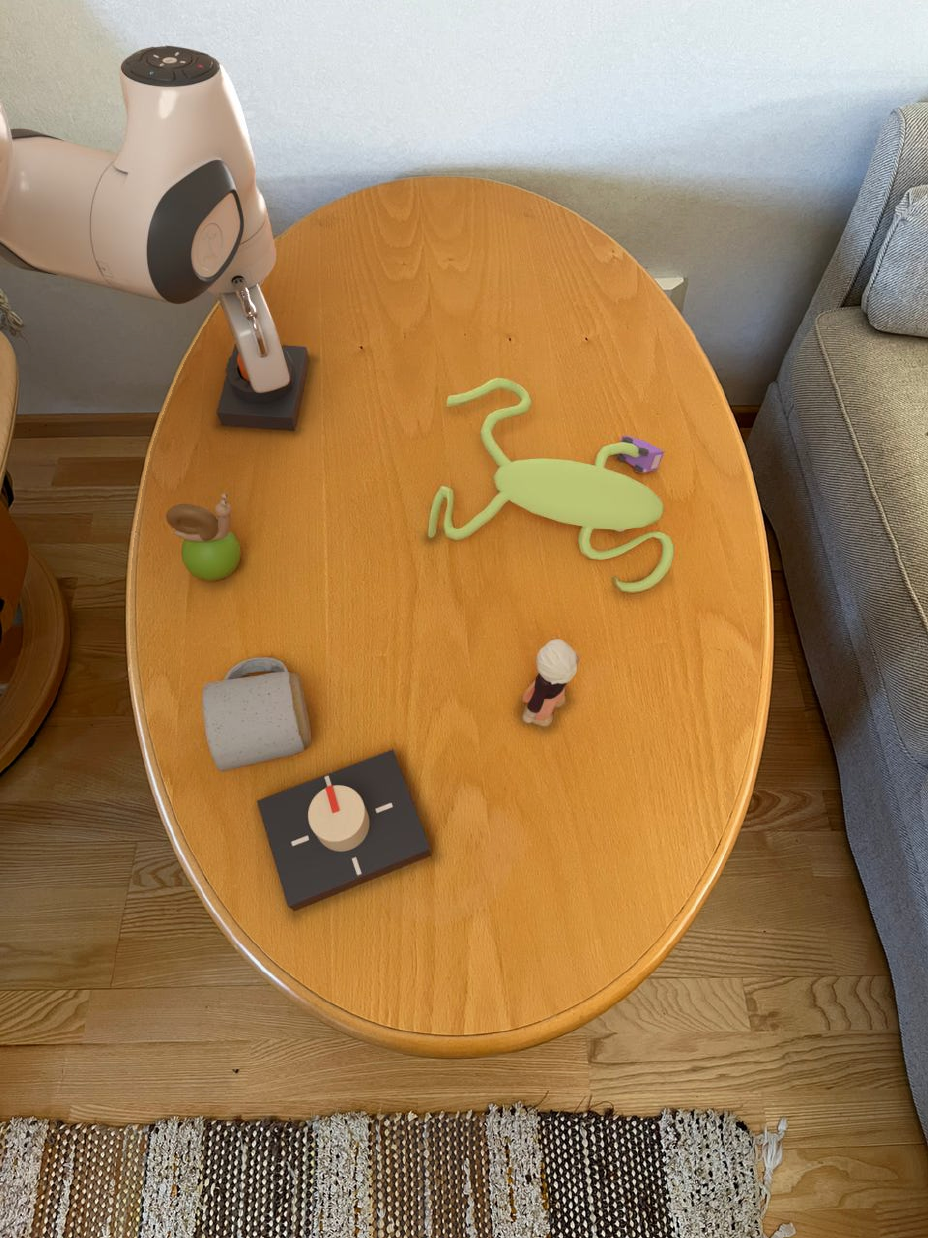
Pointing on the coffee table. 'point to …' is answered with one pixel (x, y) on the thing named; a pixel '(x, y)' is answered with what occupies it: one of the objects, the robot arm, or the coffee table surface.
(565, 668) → the grandmother figurine
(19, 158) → the robot arm
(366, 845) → the dial panel
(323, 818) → the dial
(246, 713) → the ceramic mug
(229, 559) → the snail figurine
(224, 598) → the coffee table surface
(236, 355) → the button base
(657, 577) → the figurine
